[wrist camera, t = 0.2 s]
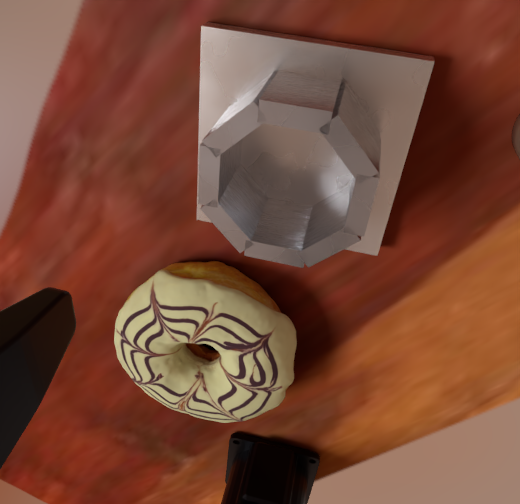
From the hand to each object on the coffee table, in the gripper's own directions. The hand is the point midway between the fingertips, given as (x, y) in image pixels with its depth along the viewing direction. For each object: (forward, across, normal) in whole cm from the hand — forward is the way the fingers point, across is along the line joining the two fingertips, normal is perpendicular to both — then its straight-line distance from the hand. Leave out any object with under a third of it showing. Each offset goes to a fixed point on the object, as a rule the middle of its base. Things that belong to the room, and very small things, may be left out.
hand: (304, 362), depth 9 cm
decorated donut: (+15, +5, +15) cm, 22 cm away
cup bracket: (+14, +2, +3) cm, 15 cm away
